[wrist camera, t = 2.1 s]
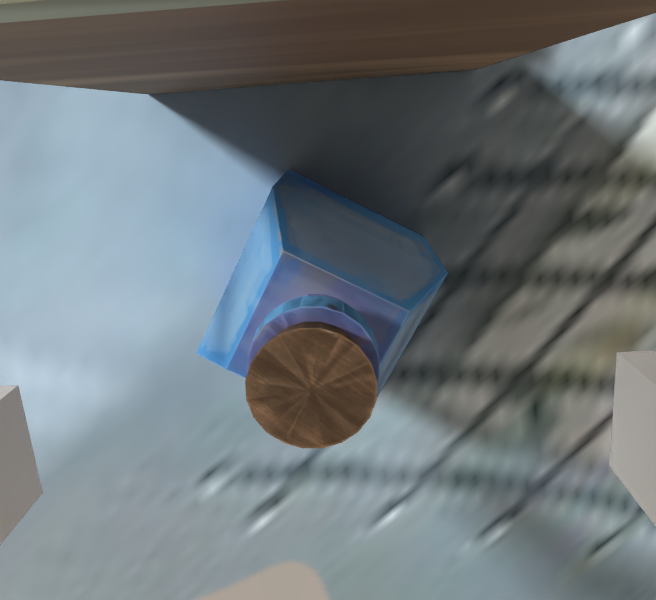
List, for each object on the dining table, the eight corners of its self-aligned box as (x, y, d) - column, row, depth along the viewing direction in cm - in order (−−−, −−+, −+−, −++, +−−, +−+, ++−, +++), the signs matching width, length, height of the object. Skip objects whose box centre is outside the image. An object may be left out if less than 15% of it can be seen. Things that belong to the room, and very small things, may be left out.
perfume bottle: (227, 300, 27) (143, 441, 15) (288, 169, 25) (245, 216, 14) (355, 359, 27) (367, 537, 16) (422, 236, 26) (489, 335, 14)
